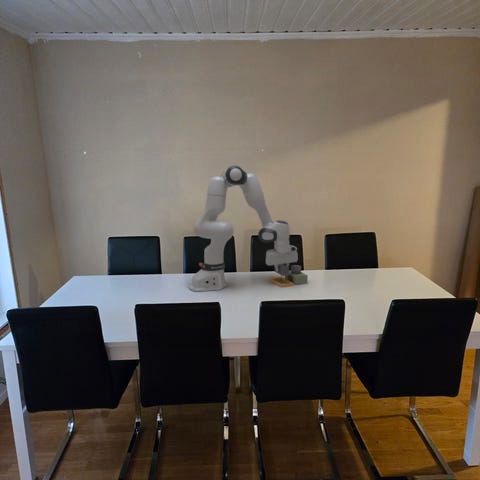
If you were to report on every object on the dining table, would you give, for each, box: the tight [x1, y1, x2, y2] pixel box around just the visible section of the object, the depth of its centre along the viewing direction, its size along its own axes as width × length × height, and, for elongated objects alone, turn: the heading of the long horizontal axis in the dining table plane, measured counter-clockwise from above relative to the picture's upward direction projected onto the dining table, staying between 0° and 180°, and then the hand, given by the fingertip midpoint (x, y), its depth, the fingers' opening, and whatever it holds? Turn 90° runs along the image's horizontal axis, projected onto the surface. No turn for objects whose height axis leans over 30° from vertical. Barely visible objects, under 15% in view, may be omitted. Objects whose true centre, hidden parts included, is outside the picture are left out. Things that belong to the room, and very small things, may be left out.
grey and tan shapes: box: [269, 264, 309, 288], centre depth 230 cm, size 18×14×9 cm
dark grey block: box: [274, 264, 290, 277], centre depth 228 cm, size 4×10×5 cm, turn 23°
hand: (281, 270), depth 228 cm, fingers closed on dark grey block, 4 cm apart
